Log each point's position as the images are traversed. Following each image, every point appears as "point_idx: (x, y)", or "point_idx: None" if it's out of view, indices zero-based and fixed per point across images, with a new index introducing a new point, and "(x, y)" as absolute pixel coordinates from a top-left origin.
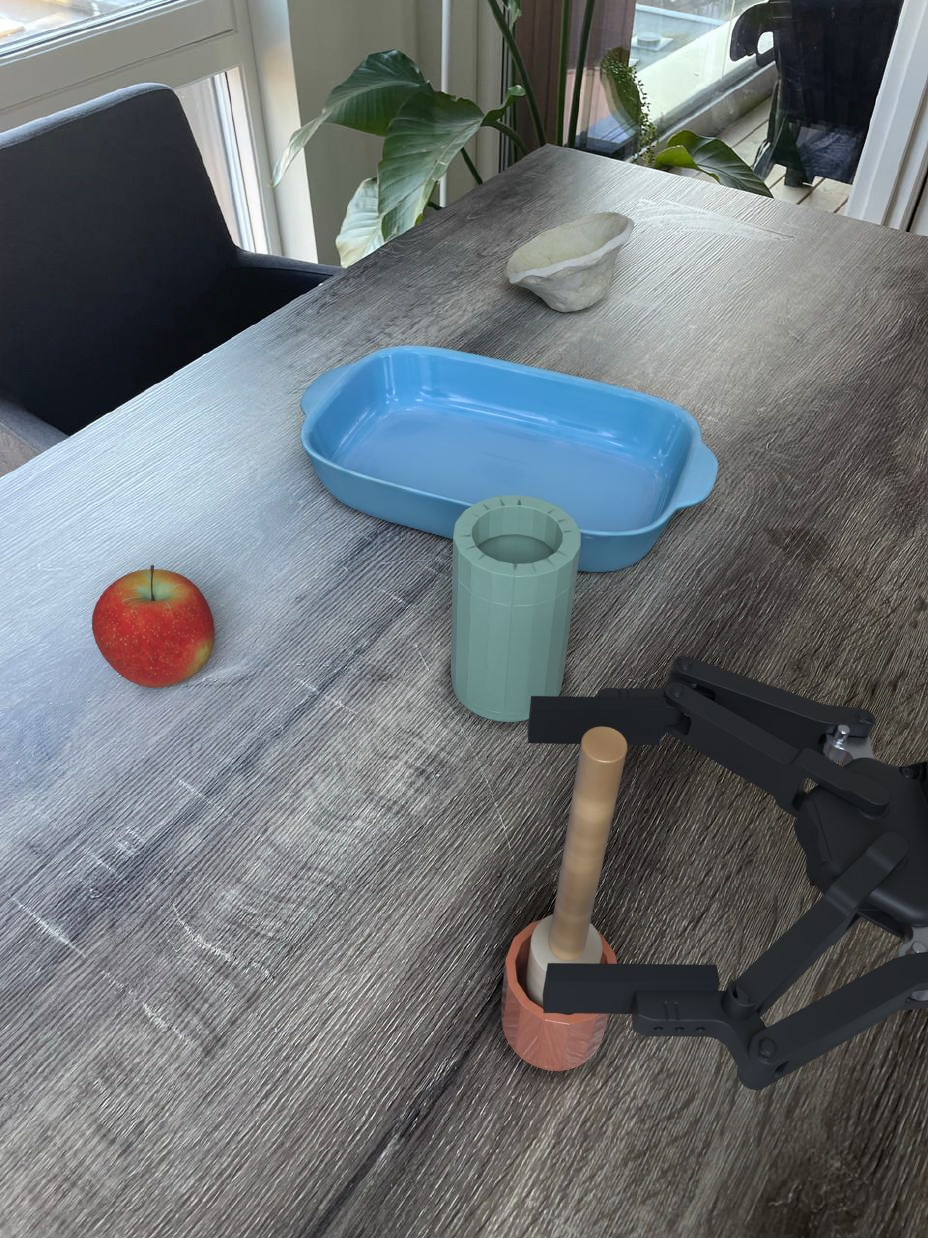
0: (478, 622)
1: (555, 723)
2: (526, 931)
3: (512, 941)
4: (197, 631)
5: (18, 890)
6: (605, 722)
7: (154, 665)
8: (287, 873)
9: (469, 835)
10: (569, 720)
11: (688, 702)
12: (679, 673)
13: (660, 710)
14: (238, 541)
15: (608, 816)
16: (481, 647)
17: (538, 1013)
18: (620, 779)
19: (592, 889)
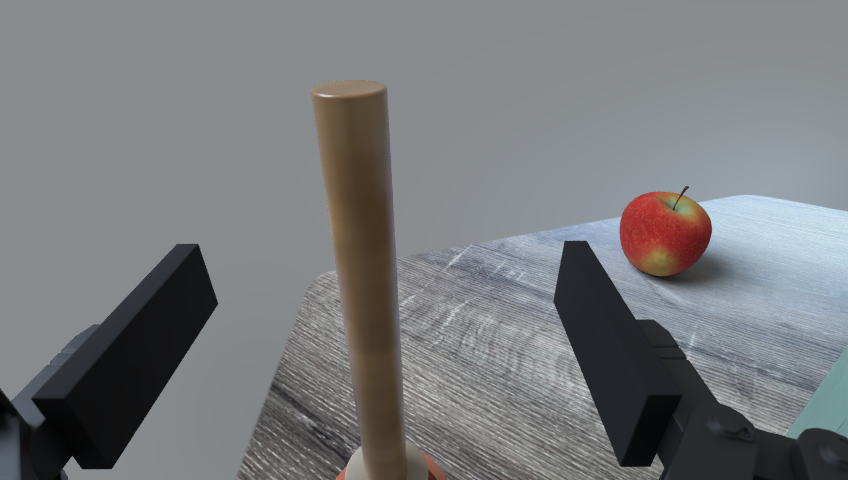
0: (830, 379)
1: (569, 288)
2: (432, 465)
3: (422, 452)
4: (666, 238)
5: (476, 245)
6: (594, 335)
7: (628, 235)
8: (511, 345)
9: (590, 476)
10: (576, 294)
11: (701, 445)
12: (796, 442)
13: (640, 383)
14: (812, 284)
15: (334, 238)
16: (811, 411)
17: (342, 474)
18: (333, 167)
19: (353, 377)
